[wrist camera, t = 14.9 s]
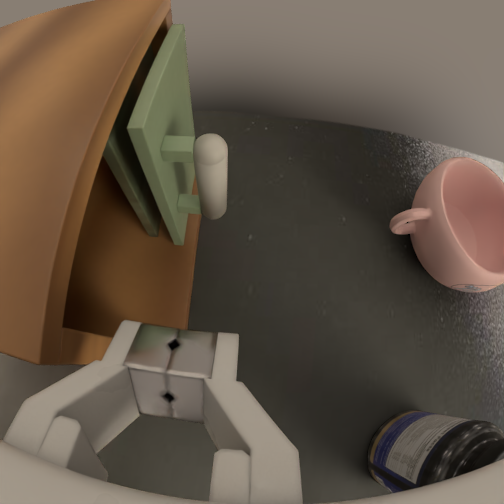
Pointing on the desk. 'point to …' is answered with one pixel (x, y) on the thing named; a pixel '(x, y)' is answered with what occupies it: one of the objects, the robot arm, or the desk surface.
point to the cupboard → (82, 186)
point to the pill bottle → (431, 449)
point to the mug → (458, 225)
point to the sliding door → (177, 142)
